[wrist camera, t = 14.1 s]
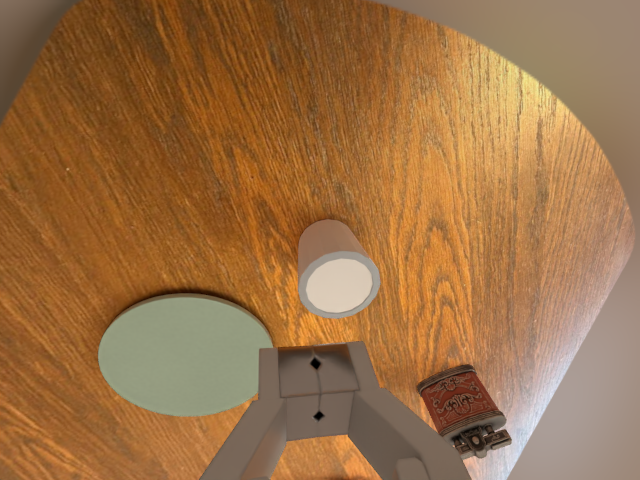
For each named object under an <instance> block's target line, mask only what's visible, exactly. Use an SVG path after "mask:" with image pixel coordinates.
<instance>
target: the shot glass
mask: <svg viewBox="0 0 640 480" xmlns="http://www.w3.org/2000/svg"><path fill="white" fill-rule="evenodd" d="M379 286H380V276H379V270H378V269H377V267H376V266H375V264H374V263H373V262H372V260H371V259H370V257H369V256H368V254H367V253H366V251H365V250H364V249H363V247H362V246H361V244H360V243H359V241H358V240H357V239H356V237H355V236H354V234H353V233H352V231H351V230H350V229H349V227H348V226H347V225H345V224H344V223H342V222H340V221H338V220H331V219H325V220H321V221H317V222H315V223H313V224H312V225H310V226H309V227H307V228H306V229H305V231H304V232H303V233H302V235H301V236H300V240H299V245H298V292H299V296H300V299H301V303H302V304H303V305H304V306H305V307H306V308H307V309H308V310H309V311H310V312H311V313H314V314H316V315H318V316H321V317H323V318H337V319H339V318H343V317H347V316H351V315H354V314H356V313H357V312H359V311H361V310H363V309H364V308H366V307H367V306H368V305H369V304H370V303H371V301H372V300H373V299H374V298H375V297H376V295H377V292H378V289H379Z"/></svg>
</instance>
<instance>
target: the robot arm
mask: <svg viewBox="0 0 640 480" xmlns="http://www.w3.org/2000/svg"><path fill="white" fill-rule="evenodd" d="M347 434H348V437H349V438H350V439H351V441H352V442H353V443H354V444H355V446H356V447H357V448H358V449H359V451H360V452H361V453H362V454H363V456H364V457H365V458H366V459H367V461H368V462H369V463H370V464H371V466H372V467H373V468H374V469H375V471H376V472H377V473H378V474H379V476H380V477H381V478H382V479H383V480H472V479H471V477H470V475H469V473H468V471H467V469H466V467H465V465H464V463H463V460H462V458H461V456H460V454H459V452H458V450H457V449H455V448H454V447H453V446H452V445H451V444H450V443H449V442H447V441H446V440H445V439H444V438H443V437H442V436H440V435H439V434H438V433H437V432H436V431H435V430H433V429H432V428H431V427H430V426H429V425H428V424H426V423H425V422H424V421H423V420H422V419H421V418H419V417H418V416H417V415H416V414H415V413H414V412H413V411H411V410H410V409H409V408H408V407H407V406H406V405H404V404H403V403H402V402H401V401H400V400H399V399H397V398H396V397H395V396H394V395H393V394H392V393H390V392H389V391H388V390H387V389H386V388H380V387H379V384H378V381H377V378H376V375H375V372H374V369H373V366H372V363H371V360H370V358H369V355H368V352H367V349H366V346H365V343H364V342H363V341H356V342H346V343H345V342H343V343H331V344H320V345H312V346H294V347H278V350H277V348H260V349H259V375H258V400H256V401H252V403H251V404H250V406H249V407H248V409H247V410H246V412H245V413H244V414H243V416H242V417H241V419H240V420H239V422H238V423H237V425H236V426H235V428H234V429H233V431H232V432H231V434H230V435H229V436H228V438H227V439H226V441H225V442H224V444H223V445H222V447H221V448H220V450H219V451H218V453H217V454H216V455H215V457H214V458H213V460H212V461H211V463H210V464H209V466H208V467H207V469H206V470H205V472H204V473H203V475H202V476H201V477H200V479H199V480H270V478H271V476H272V474H273V472H274V469H275V467H276V465H277V463H278V461H279V459H280V456H281V454H282V452H283V450H284V448H285V446H286V441H293V440H300V439H307V438H314V437H324V436H335V435H347Z"/></svg>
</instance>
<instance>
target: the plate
mask: <svg viewBox="0 0 640 480" xmlns="http://www.w3.org/2000/svg"><path fill="white" fill-rule="evenodd" d="M260 348H274V345H273V342H272V339H271V337H270V335H269V333H268V331H267V329H266V328H265V327H264V325H263V324H262V323H261V322H260V321H259V320H258V319H257V318H256V317H255V316H254V315H253V314H251V313H250V312H249V311H247V310H246V309H244V308H242V307H241V306H239V305H237V304H234V303H232V302H230V301H227V300H224V299H221V298H218V297H214V296H209V295H203V294H194V293H178V294H167V295H162V296H157V297H153V298H150V299H147V300H144V301H142V302H139V303H137V304H135V305H133V306H131V307H130V308H128V309H126V310H125V311H123V312H122V313H121V314H120V315H118V316H117V317H116V318H115V319H114V320H113V321H112V322H111V324H110V325H109V326H108V328H107V329H106V331H105V333H104V334H103V336H102V339H101V341H100V344H99V349H98V362H99V366H100V370H101V372H102V374H103V377H104V378H105V380H106V381H107V383H108V384H109V385H110V386H111V387H112V389H113V390H114V391H115V392H117V393H118V394H119V395H120V396H121V397H123V398H124V399H126V400H127V401H129V402H131V403H133V404H135V405H137V406H139V407H141V408H144V409H146V410H149V411H153V412H156V413H160V414H165V415H172V416H188V417H190V416H204V415H211V414H215V413H220V412H223V411H226V410H229V409H232V408H234V407H237V406H239V405H241V404H242V403H244V402H246V401H247V400H249V399H250V398H252V397H253V396H254V395H256V394H257V393H258V375H259V349H260Z"/></svg>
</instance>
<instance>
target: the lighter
mask: <svg viewBox="0 0 640 480" xmlns="http://www.w3.org/2000/svg"><path fill="white" fill-rule="evenodd" d="M417 390H418V392H419V394H420V396H421V397H422V398H423V400H424V402H425V404H426V407H427V409H428V411H429V413H430V415H431V418H432V420H433V422H434V424H435V427H436V429H437V431H438V433H439V435H440V436H442V437H443V438H444V439H445V440H446V441H447V442H449V443H450V444H451V445H452V446H453V445H455V448H456V449H457V450H458V452H459V454H460V456H461V458H462V460H464V459H467V458H470V457H472V456H476V457H478V458H484V457H485V456H486V455H487V451H489V450H492V449H493V450H496V449H499V448H502V447H504V446H507V445H510V444H511V443H512V442H511V441H512V439H511V437H510V435H509V434H508V432H507V431H506V430H505V429H504V430H500V431H498V432H494V431H495V430H497V429H499V428H501V427H502V426H504V425H505V423H506V418H505V416H504V415H503V413H502V412H501V411H499V410H498V408H497V406H496V405H495V403H494V402H493V400H492V399H491V397H490V395H489V394H488V392H487V391H486V389H485V388H484V386H483V385H482V383H481V381H480V380H479V378H478V377H477V373H476V371H475V370H474V368H473V366H471V365H463V366H459V367H455V368H452V369H449V370H446V371H443V372H441V373H439V374H436V375H434V376H432V377H430V378H428V379H426V380H424V381H422V382H421V383H419V385H418V387H417ZM486 434H488V435H487V436H484V435H486ZM483 436H484V437H483ZM462 443H464V444H462Z"/></svg>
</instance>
